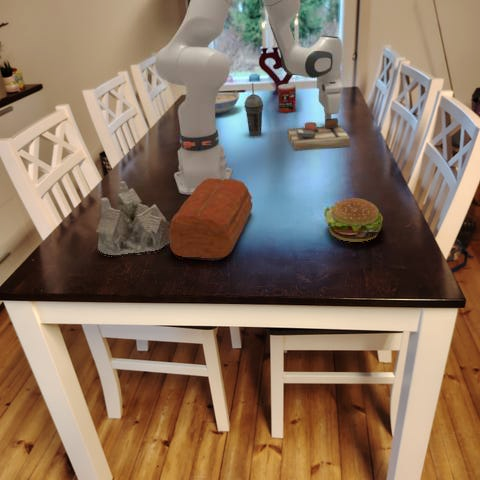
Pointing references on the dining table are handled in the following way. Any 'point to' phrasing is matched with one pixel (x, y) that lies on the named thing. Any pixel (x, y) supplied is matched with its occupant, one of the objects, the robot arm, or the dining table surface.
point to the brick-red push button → (310, 126)
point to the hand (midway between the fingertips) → (327, 119)
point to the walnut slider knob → (331, 123)
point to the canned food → (287, 98)
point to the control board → (319, 138)
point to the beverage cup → (254, 113)
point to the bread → (210, 219)
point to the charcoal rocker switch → (305, 133)
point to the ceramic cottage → (131, 225)
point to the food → (354, 220)
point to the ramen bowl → (226, 100)
